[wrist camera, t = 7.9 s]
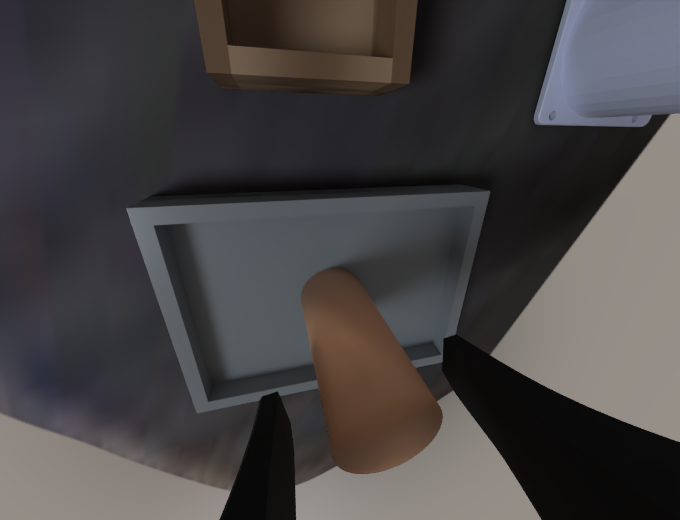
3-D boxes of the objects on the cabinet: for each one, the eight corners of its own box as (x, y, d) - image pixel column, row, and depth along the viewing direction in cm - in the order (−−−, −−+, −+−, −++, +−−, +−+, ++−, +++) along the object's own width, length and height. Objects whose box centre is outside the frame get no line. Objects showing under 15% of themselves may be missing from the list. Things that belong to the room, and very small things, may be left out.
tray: (461, 184, 17) (490, 191, 15) (431, 338, 23) (448, 360, 20) (149, 196, 13) (126, 208, 11) (205, 380, 19) (196, 413, 16)
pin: (357, 260, 16) (444, 379, 8) (365, 311, 18) (441, 448, 10) (294, 277, 16) (321, 422, 8) (308, 328, 17) (342, 487, 9)
